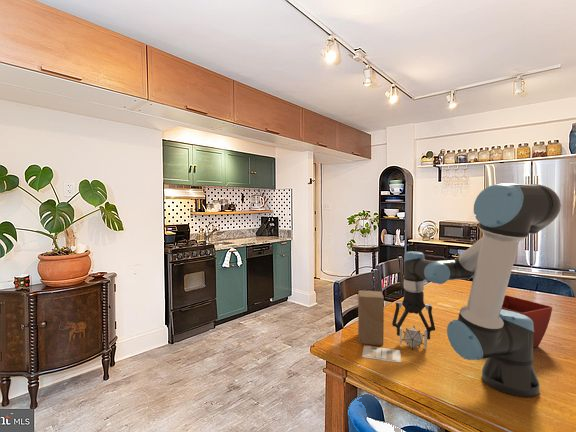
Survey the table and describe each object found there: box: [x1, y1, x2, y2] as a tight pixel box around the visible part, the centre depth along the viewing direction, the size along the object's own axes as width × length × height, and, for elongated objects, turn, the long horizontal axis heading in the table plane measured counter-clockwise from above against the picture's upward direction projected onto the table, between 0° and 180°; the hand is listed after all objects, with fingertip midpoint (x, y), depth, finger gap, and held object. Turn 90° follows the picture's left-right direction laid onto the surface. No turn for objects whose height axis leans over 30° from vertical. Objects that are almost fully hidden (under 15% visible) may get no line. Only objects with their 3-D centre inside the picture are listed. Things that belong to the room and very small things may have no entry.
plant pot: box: [501, 294, 553, 348], centre depth 131 cm, size 19×19×17 cm
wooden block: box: [357, 290, 385, 346], centre depth 134 cm, size 10×10×20 cm
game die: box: [402, 325, 424, 351], centre depth 127 cm, size 9×8×10 cm
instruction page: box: [361, 345, 402, 364], centre depth 121 cm, size 10×14×1 cm
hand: (413, 344), depth 127 cm, fingers closed on game die, 9 cm apart
